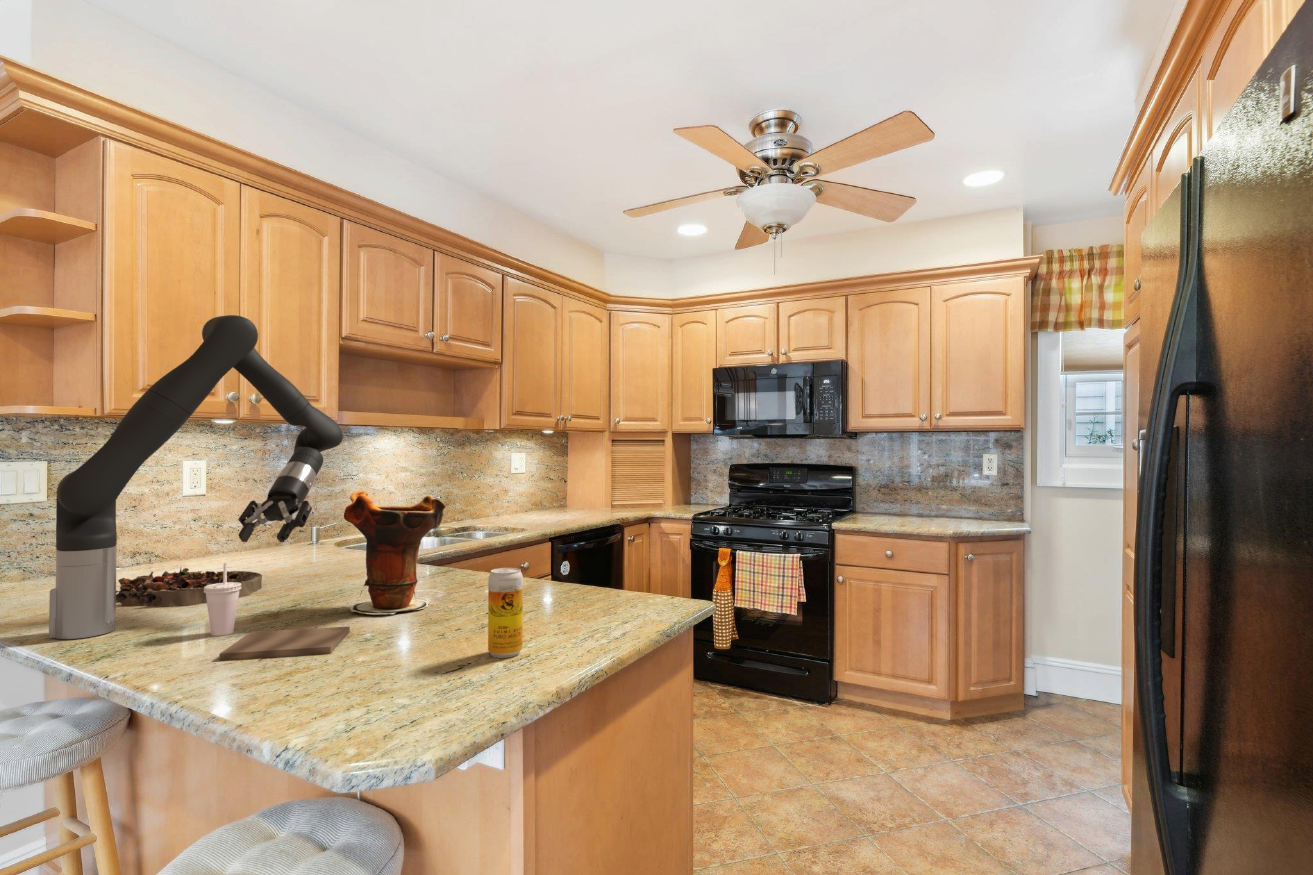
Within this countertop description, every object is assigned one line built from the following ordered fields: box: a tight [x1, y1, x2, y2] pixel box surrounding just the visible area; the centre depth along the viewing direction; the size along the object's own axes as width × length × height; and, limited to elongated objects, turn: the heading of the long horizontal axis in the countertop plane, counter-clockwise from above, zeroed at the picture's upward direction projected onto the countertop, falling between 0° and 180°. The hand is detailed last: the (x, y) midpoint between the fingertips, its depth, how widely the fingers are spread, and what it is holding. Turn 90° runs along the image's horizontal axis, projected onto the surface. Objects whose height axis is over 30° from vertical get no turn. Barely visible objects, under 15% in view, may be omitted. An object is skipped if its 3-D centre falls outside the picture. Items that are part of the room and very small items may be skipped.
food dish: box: [116, 567, 263, 608], centre depth 169 cm, size 35×33×8 cm
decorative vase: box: [343, 490, 446, 615], centre depth 153 cm, size 20×22×27 cm
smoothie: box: [204, 562, 241, 637], centre depth 131 cm, size 6×6×14 cm
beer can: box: [487, 567, 524, 659], centre depth 118 cm, size 6×6×15 cm
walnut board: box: [218, 626, 351, 661], centre depth 123 cm, size 18×14×1 cm
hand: (261, 540), depth 143 cm, fingers open, 8 cm apart
